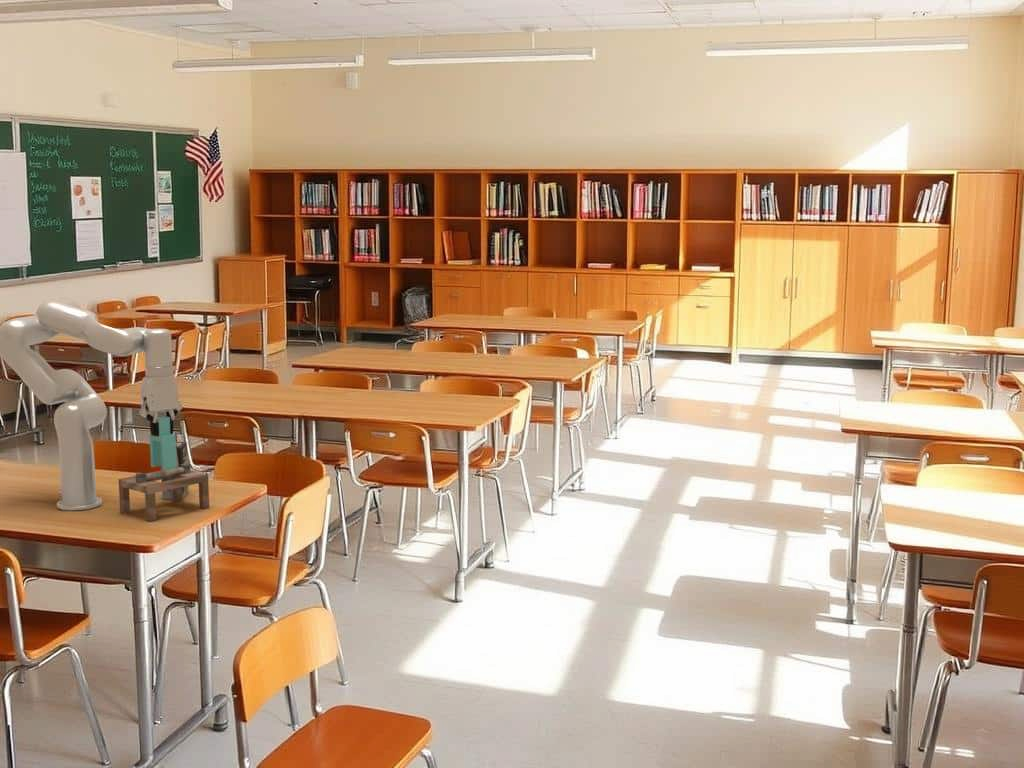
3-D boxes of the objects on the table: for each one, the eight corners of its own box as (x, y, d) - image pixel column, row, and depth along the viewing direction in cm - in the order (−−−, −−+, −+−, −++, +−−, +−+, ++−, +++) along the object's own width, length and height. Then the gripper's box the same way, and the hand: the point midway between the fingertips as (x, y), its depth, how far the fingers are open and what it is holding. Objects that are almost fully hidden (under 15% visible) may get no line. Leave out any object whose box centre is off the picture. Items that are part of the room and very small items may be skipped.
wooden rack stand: (120, 512, 329) (118, 471, 327) (178, 499, 345) (177, 459, 343) (150, 521, 320) (148, 479, 318) (209, 507, 335) (207, 466, 334)
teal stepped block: (151, 466, 331) (148, 417, 329) (162, 464, 334) (160, 415, 332) (164, 469, 327) (162, 419, 324) (176, 467, 330) (174, 417, 328)
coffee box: (183, 499, 345) (181, 447, 342) (161, 499, 344) (159, 447, 342) (189, 492, 354) (187, 441, 351) (168, 492, 353) (166, 441, 351)
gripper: (176, 367, 335) (179, 428, 338) (125, 374, 322) (129, 437, 325) (191, 369, 330) (194, 431, 333) (141, 376, 317) (144, 440, 320)
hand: (162, 433), depth 329 cm, fingers closed on teal stepped block, 4 cm apart
